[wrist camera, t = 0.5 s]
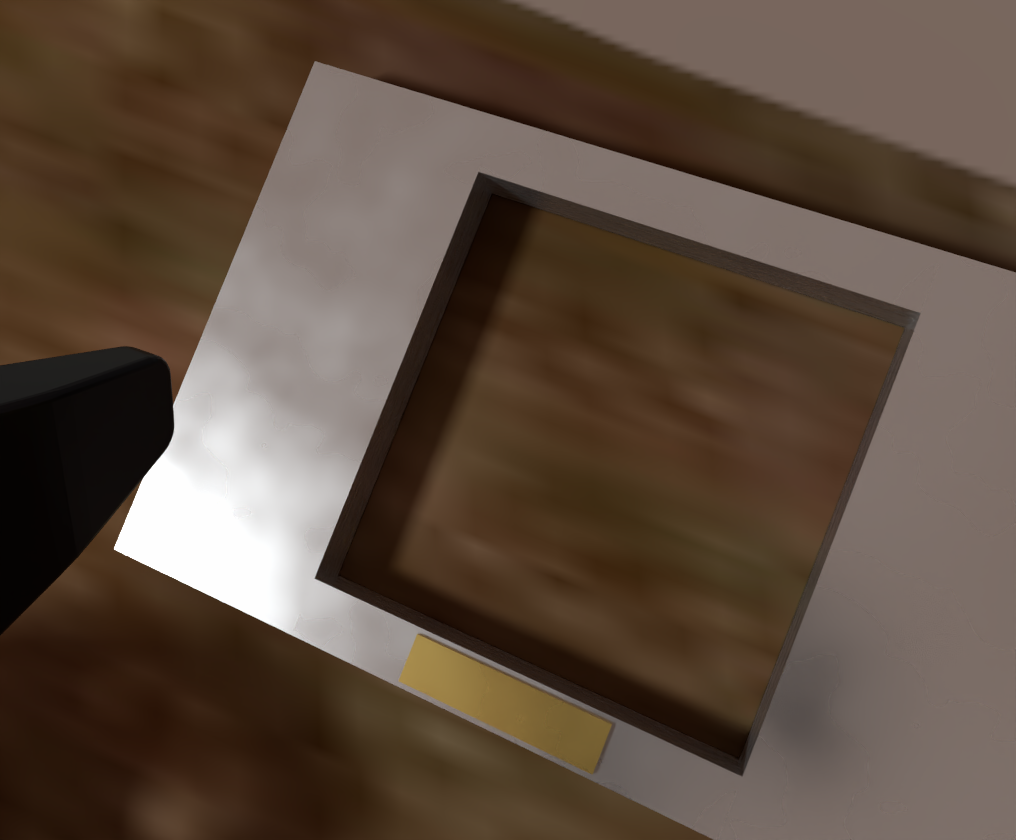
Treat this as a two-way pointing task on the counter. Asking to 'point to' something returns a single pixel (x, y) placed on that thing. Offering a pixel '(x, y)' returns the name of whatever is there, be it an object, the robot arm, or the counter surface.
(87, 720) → the counter surface
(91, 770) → the counter surface
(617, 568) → the counter surface
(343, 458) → the plate
